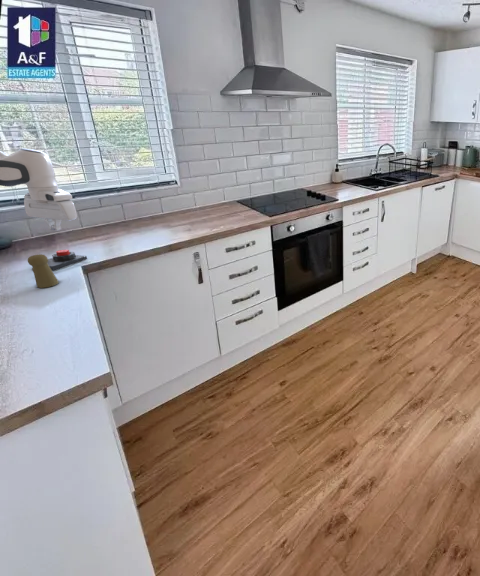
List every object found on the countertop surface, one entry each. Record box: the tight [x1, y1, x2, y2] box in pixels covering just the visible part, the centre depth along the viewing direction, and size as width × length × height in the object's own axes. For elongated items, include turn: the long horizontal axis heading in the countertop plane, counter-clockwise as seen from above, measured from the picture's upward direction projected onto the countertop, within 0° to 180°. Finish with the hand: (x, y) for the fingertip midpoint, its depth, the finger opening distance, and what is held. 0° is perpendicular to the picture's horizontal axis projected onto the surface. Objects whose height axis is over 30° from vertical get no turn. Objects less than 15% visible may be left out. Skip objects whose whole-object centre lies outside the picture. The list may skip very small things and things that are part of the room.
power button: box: [55, 249, 71, 256], centre depth 149 cm, size 4×4×2 cm
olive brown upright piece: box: [27, 253, 60, 289], centre depth 130 cm, size 6×6×11 cm
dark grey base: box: [47, 251, 88, 272], centre depth 148 cm, size 14×10×5 cm
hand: (56, 229), depth 145 cm, fingers closed
